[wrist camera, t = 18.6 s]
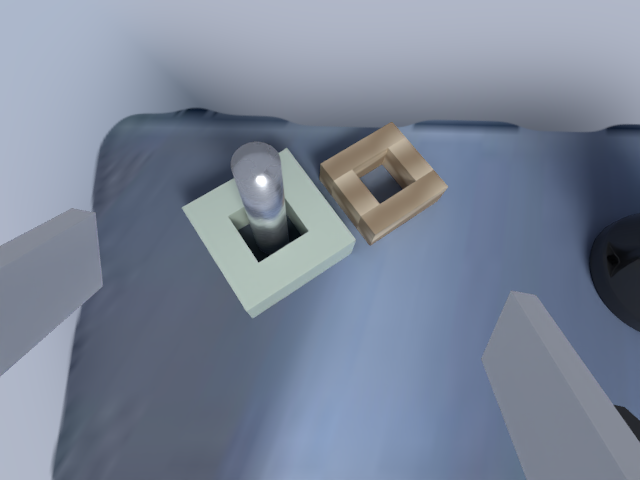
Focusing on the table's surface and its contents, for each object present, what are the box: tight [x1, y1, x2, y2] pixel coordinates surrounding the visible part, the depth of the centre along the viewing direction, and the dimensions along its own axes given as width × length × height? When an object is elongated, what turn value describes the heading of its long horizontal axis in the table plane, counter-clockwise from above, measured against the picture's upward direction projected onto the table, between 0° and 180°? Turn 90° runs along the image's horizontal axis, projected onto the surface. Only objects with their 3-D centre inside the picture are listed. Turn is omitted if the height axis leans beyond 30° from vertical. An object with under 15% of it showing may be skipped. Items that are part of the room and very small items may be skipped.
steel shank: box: [231, 142, 289, 254], centre depth 40 cm, size 4×4×18 cm
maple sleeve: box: [319, 122, 448, 245], centre depth 50 cm, size 11×11×4 cm
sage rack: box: [182, 148, 356, 318], centre depth 46 cm, size 14×14×5 cm
